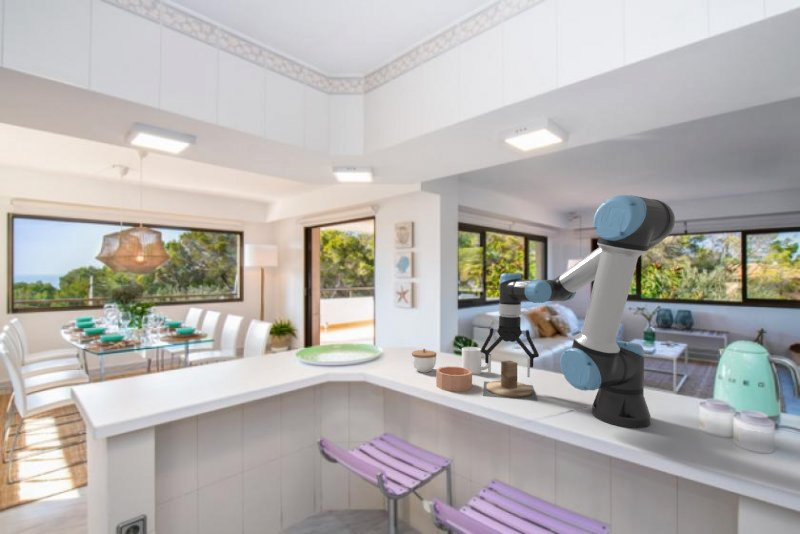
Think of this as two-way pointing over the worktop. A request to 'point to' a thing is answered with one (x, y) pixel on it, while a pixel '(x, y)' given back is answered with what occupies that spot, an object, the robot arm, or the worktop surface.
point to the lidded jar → (424, 360)
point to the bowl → (453, 378)
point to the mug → (472, 359)
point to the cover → (509, 383)
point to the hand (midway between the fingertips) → (508, 374)
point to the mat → (531, 397)
